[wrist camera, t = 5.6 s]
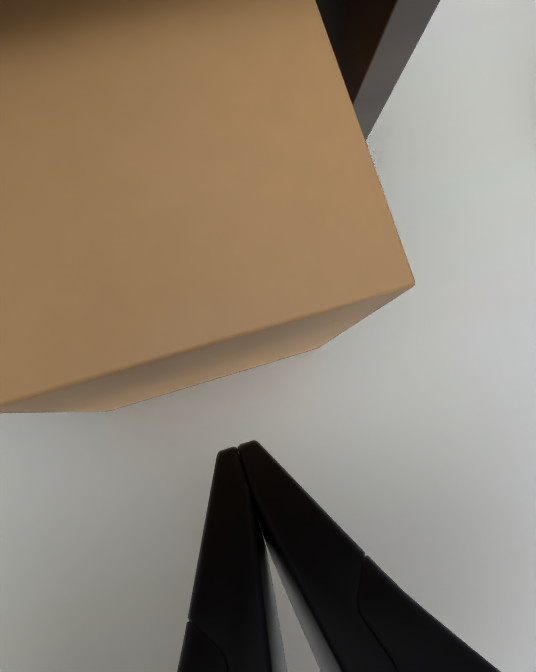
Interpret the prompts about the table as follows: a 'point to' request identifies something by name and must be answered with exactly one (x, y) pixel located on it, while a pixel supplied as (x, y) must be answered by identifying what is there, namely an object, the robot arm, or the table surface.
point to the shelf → (373, 47)
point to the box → (177, 198)
